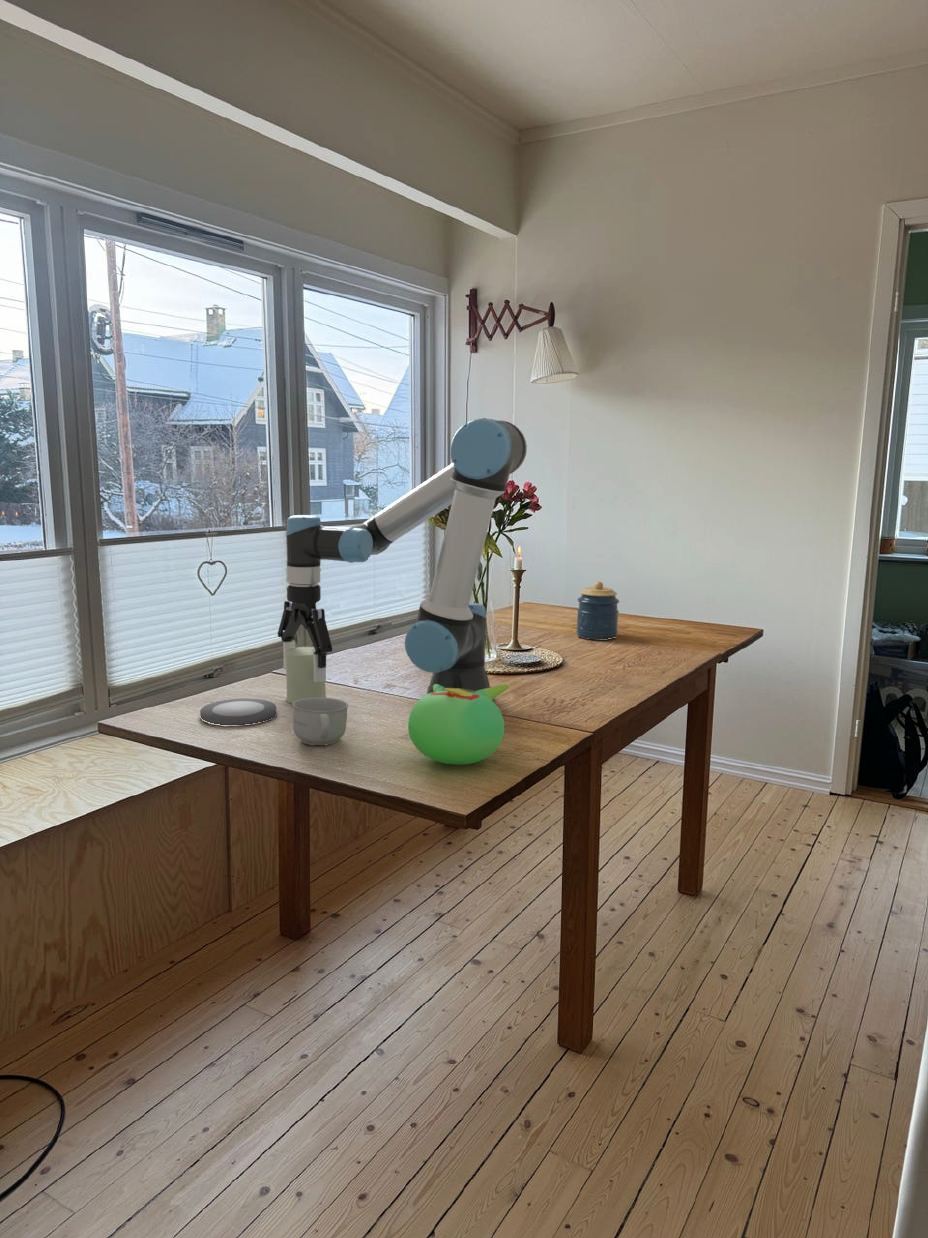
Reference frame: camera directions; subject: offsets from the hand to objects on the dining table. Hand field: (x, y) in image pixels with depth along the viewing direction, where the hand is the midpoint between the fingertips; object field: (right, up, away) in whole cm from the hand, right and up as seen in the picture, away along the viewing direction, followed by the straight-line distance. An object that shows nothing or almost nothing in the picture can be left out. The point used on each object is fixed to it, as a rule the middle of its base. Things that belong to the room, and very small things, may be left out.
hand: (304, 674), depth 202 cm
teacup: (+9, -12, -30) cm, 33 cm away
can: (0, -6, +1) cm, 6 cm away
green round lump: (+36, -14, -38) cm, 54 cm away
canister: (+79, +7, +74) cm, 109 cm away
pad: (-12, -8, -12) cm, 19 cm away
